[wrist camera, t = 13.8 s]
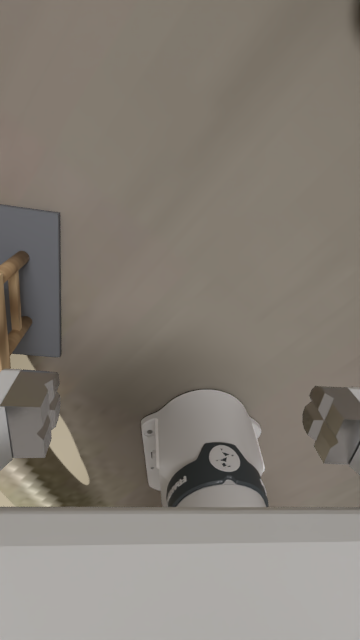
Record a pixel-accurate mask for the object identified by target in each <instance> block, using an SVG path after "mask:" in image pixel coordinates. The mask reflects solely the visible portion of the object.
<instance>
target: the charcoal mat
mask: <svg viewBox="0 0 360 640" xmlns="http://www.w3.org/2000/svg"><path fill="white" fill-rule="evenodd" d="M18 251H25V252H26V253H28V255H29V261H28V262H27V263H26V264H25V265H24V266H23V267H22V268H20V269H19V270H18V271H19V287H20V303H21V317H23V316H28V317H30V318H31V319H32V324H31V326H30V327H29V329H28V330H27V332H26V333H25V335H24V336H23V338H22V339H21V341H20V342H19V344H18V345H17V346H16V348H15V349H14V351H13V352H12V354H24V355H35V356H48V357H60V356H61V272H60V213H58V212H51V211H44V210H37V209H30V208H23V207H16V206H9V205H2V204H0V265H1V264H3V263H4V262H5V261H7V260H8V259H9V258H10V257H12V256H13V255H14V254H16V253H17V252H18ZM4 296H5V308H6V319H7V331H8V334H9V333H10V331H11V330H12V326H11V313H10V300H9V287H8V280H7V281H6V282H5V283H4Z"/></svg>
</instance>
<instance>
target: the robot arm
mask: <svg viewBox="0 0 360 640" xmlns="http://www.w3.org/2000/svg"><path fill="white" fill-rule="evenodd" d="M59 384H60V383H59V374H58V373H57V372H49V371H35V370H20V369H3V370H2V371H0V470H2V469H3V468H4V467H5V466H6V465H7V464H8V463H9V462H10V461H11V460H12V458H45V456H46V453H47V450H48V447H49V444H50V442H51V430H52V429H53V428H55V427H56V424H57V421H58V417H59V412H60V395H59V394H58V393H57V389H58V386H59ZM309 396H310V398H311V402H310V403H309V404H307V405H306V406H305V408H304V411H303V426H304V429H305V431H306V433H307V435H308V436H310V437H311V438H312V439H314V440H315V443H314V447H315V449H316V451H317V453H318V454H319V456H320V458H321V460H322V461H323V463H327V464H347V465H349V466H350V467H351V468H352V469H353V470H354V471H355V472H356V473H358V474H359V475H360V388H359V387H324V386H315V387H314V388H313V389H312V390H311V393H310V395H309ZM141 430H142V438H143V446H144V453H145V461H146V469H147V477H148V484H149V486H150V487H151V488H153V489H155V490H158V491H161V503H162V506H163V507H0V640H360V507H268V499H267V496H266V495H267V494H266V490H265V486H264V484H263V482H262V480H261V475H262V473H263V472H264V470H265V466H264V462H263V458H262V455H261V451H260V447H259V444H258V440H257V439H258V437H259V436H260V434H261V427H260V425H259V423H257V422H256V421H255V420H253V419H252V418H250V417H249V415H248V413H247V411H246V409H245V407H244V406H243V404H242V403H241V402H240V401H239V400H238V399H236V398H235V397H234V396H232V395H230V394H228V393H225V392H222V391H217V390H196V391H192V392H188V393H185V394H182V395H180V396H178V397H176V398H175V399H173V400H172V401H170V402H169V403H168V404H167V405H165V406H164V407H163V408H162V409H161V410H160V411H158V412H156V413H153V414H151V415H149V416H146V417H145V418H143V419H142V421H141Z"/></svg>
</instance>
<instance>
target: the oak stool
mask: <svg viewBox="0 0 360 640" xmlns="http://www.w3.org/2000/svg"><path fill="white" fill-rule="evenodd" d="M28 261H29V255H28V253H26V252H25V251H18V252H17V253H16V254H14V255H13V256H12V257H10V258H9V259H8V260H7V261H5V262H4V263H3V264H1V265H0V371H2V370H3V369H10V368H11V367H10V355H11V354H12V352H13V351H14V349H15V348H16V346H17V345H18V344H19V342H20V341H21V339H22V338H23V336H24V335H25V333H26V332H27V330H28V329H29V327H30V326H31V324H32V319H31V318H30V317H28V316H23V317H21V303H20V287H19V271H18V270H19V269H20V268H22V267H23V266H24V265H25V264H26V263H27V262H28ZM7 280H8V287H9V300H10V313H11V326H12V330H11V331H10V333H9V334H8V331H7V319H6V308H5V296H4V283H5V282H6V281H7Z"/></svg>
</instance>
